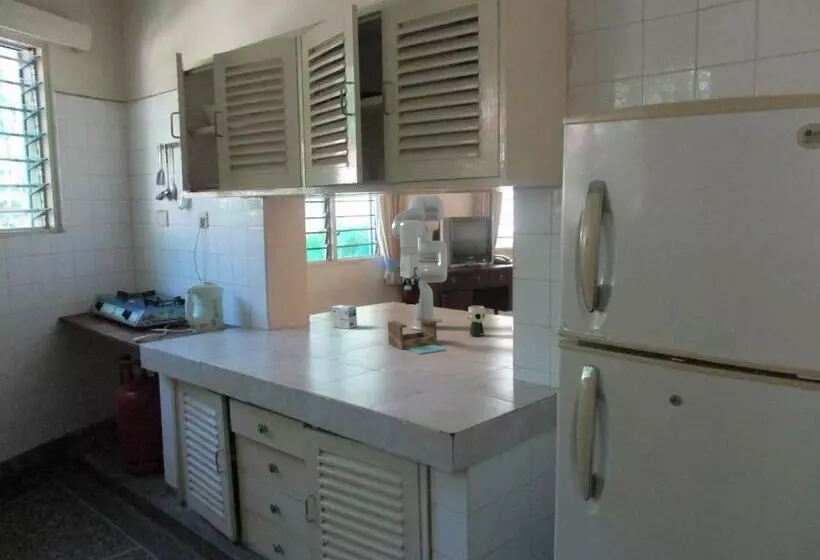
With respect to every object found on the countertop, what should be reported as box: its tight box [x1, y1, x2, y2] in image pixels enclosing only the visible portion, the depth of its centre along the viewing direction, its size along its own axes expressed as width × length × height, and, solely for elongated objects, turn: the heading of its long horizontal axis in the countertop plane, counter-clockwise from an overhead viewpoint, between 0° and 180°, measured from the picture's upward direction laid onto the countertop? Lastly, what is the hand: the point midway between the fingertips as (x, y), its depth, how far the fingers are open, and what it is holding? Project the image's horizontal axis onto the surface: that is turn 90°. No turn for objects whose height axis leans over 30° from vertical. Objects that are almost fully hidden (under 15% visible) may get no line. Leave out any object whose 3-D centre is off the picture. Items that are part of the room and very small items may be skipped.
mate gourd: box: [398, 268, 420, 306], centre depth 270 cm, size 8×8×15 cm
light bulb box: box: [331, 304, 358, 330], centre depth 316 cm, size 11×7×11 cm, turn 58°
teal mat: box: [408, 344, 447, 355], centre depth 261 cm, size 12×10×1 cm
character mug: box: [466, 305, 487, 337], centre depth 285 cm, size 11×7×13 cm, turn 125°
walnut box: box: [387, 317, 438, 351], centre depth 272 cm, size 17×12×10 cm
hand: (410, 292), depth 270 cm, fingers closed on mate gourd, 7 cm apart
